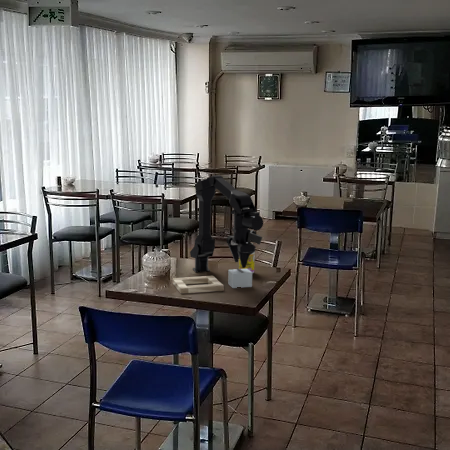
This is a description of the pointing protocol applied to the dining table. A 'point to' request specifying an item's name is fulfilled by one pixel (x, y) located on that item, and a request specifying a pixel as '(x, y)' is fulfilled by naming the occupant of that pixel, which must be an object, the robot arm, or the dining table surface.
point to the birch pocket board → (212, 286)
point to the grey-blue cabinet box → (240, 278)
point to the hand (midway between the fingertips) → (240, 264)
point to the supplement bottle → (249, 263)
